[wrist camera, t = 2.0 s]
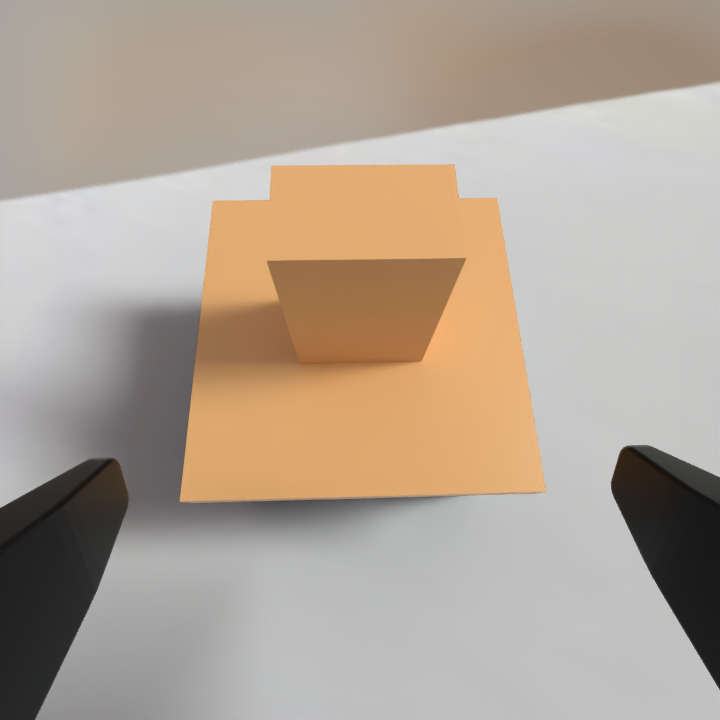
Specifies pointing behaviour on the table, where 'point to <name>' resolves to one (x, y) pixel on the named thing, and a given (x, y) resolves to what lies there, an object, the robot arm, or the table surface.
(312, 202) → the lid
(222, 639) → the table surface
